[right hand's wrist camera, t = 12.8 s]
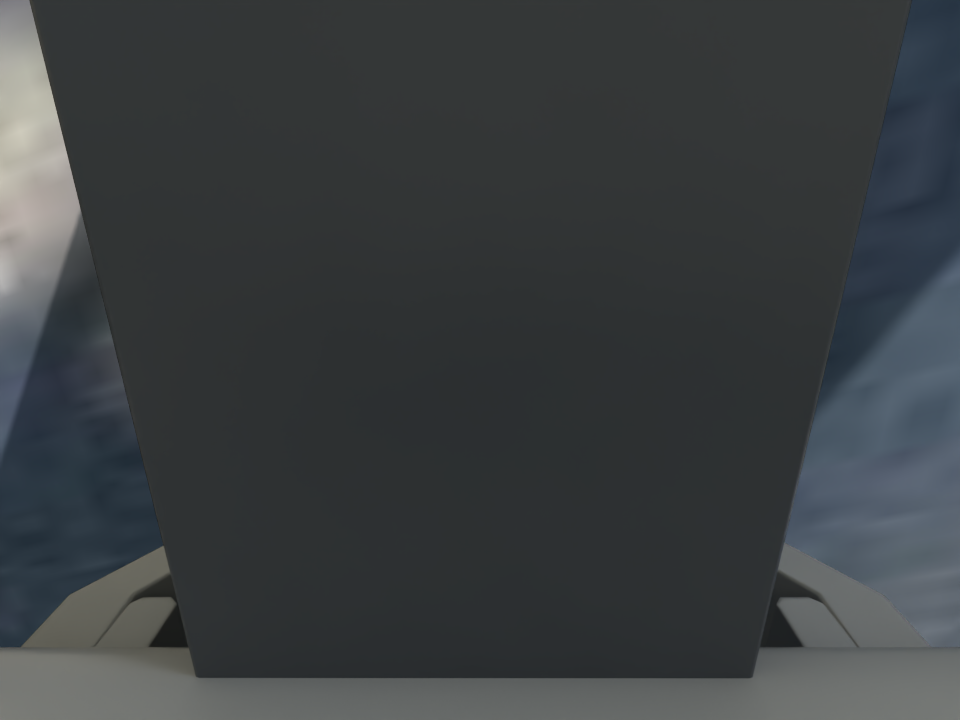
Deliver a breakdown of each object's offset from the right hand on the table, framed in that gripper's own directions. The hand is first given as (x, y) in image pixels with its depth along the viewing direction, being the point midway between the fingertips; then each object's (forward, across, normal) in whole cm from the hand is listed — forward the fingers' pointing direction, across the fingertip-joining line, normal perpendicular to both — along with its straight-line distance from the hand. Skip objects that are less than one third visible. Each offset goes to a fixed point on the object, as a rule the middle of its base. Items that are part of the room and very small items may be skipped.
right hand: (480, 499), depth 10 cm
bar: (+4, 0, +8) cm, 9 cm away
